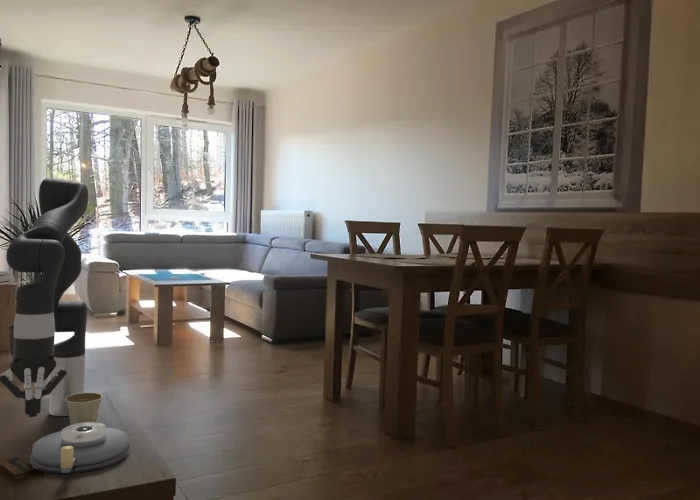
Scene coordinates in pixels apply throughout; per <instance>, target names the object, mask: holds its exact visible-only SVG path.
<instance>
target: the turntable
mask: <svg viewBox="0 0 700 500" xmlns="http://www.w3.org/2000/svg"><path fill="white" fill-rule="evenodd" d="M61 431H62V430H59V431H55V432H53V433H50V434H48V435H45V436H42V437H41V438H39V439H37V440H36V441H35V442H34V443H33V444H32V448H31V449H32V450H31V453H32V458H33V460H34V461H36V462H37V463H40V464H42V465H46V466H53V467H61V468H62V469H61V473H68V472H70V471H71V469H72V467H77V466H85V465H91V464H96V463H100V462H104V461H107V460H110V459H112V458H114V457H117V456H118V455H120V454H122V453H123V452H124V451H125V450H126V449H127V446H128V443H129V437H128V434H127V433H126V432H125V431H124V430H121V429H118V428H113V427H107V432H106V441H105V442H104V443H102V444H100V445H98V446H95V447H90V448H84V449H73V447H72V446H65V447H63V446H62V445H61Z"/></svg>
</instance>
